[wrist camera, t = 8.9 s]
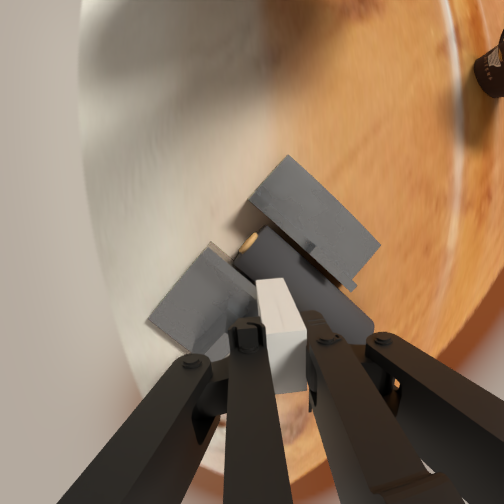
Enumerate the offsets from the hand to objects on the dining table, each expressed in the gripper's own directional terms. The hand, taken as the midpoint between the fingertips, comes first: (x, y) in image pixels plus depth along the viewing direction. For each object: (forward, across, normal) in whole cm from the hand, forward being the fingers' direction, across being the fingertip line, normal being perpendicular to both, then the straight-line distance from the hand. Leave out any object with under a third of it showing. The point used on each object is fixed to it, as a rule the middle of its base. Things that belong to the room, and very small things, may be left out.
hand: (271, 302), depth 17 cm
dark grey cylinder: (+16, +5, -5) cm, 18 cm away
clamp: (+16, 0, -4) cm, 16 cm away
